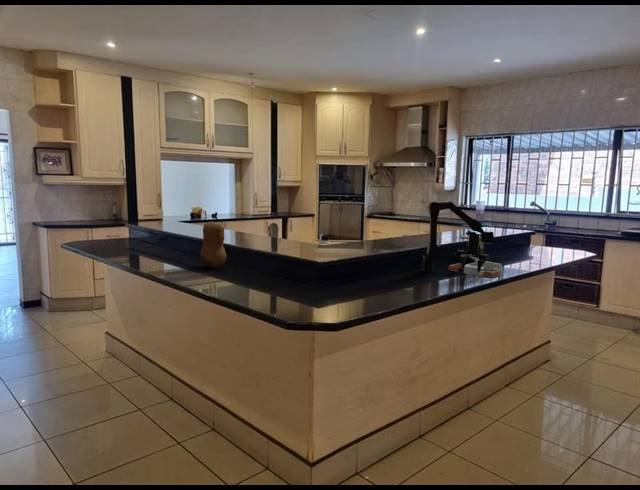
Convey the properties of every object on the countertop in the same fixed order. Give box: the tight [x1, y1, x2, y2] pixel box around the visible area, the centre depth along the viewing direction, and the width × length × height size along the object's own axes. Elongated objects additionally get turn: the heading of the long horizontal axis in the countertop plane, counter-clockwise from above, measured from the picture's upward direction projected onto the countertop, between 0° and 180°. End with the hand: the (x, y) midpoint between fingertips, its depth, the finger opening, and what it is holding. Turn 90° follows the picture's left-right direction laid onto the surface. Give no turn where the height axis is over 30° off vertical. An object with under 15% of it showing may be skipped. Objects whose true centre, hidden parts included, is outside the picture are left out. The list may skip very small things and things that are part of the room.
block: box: [463, 264, 485, 276], centre depth 258 cm, size 6×10×4 cm, turn 66°
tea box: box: [460, 234, 485, 260], centre depth 305 cm, size 15×10×15 cm, turn 73°
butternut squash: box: [200, 221, 227, 269], centre depth 244 cm, size 14×13×25 cm
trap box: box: [448, 262, 502, 279], centre depth 262 cm, size 22×24×3 cm
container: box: [317, 233, 331, 245], centre depth 298 cm, size 8×8×13 cm
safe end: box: [474, 259, 503, 272], centre depth 269 cm, size 1×16×5 cm, turn 41°
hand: (471, 270), depth 256 cm, fingers open, 9 cm apart
